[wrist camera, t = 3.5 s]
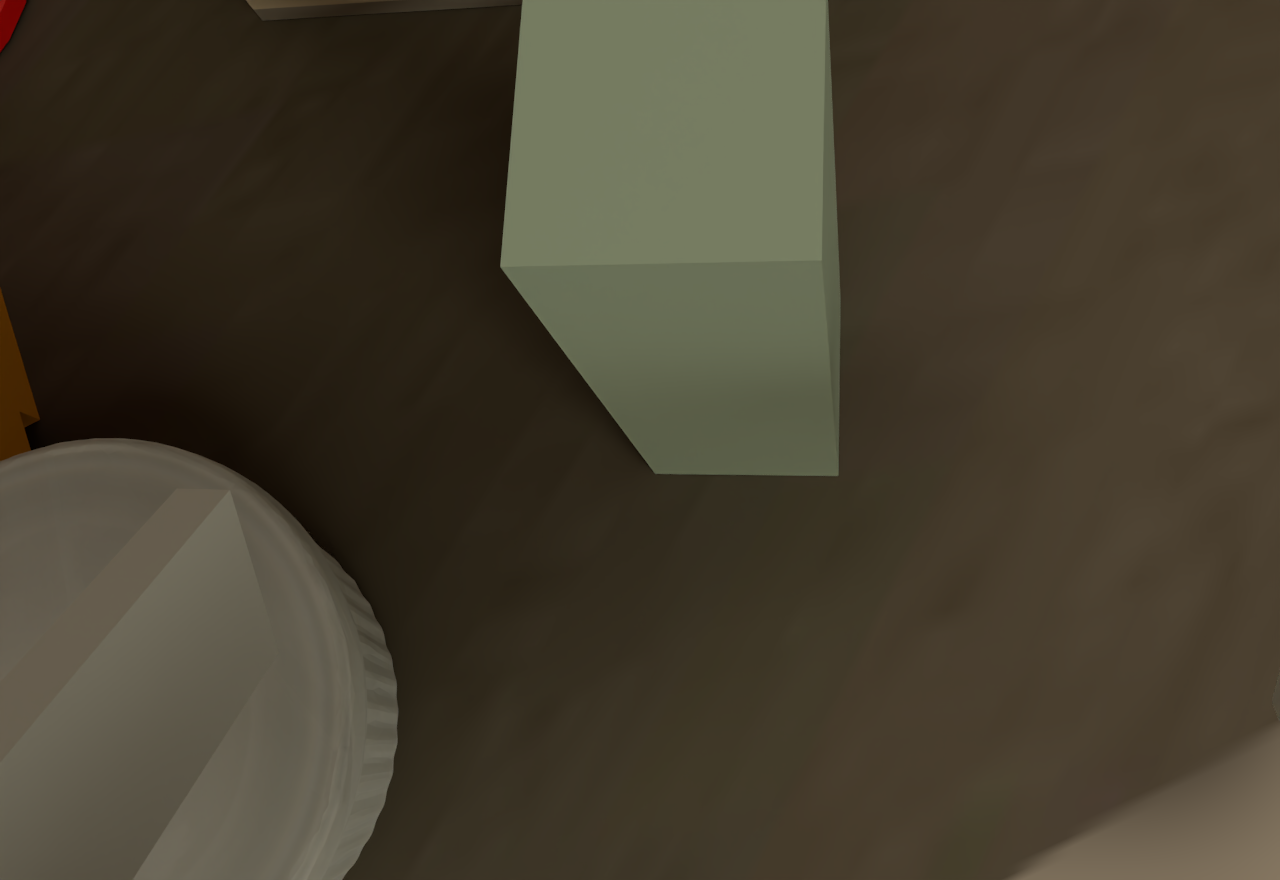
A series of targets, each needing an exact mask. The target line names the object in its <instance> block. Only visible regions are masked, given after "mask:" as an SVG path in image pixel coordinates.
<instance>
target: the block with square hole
mask: <svg viewBox="0 0 1280 880" xmlns="http://www.w3.org/2000/svg"><path fill="white" fill-rule="evenodd" d="M246 1H247V2H248V4H249V5H250V6H251V7H252V8H253V10H254V11H255V12H256V13H257V14H258V16H259V17H260V18H261V19H262V21H266V20H282V19H298V18H314V17H331V16H347V15H363V14H379V13H395V12H412V11H428V10H444V9H460V8H477V7H493V6H509V5H522V2H523V0H246Z"/></svg>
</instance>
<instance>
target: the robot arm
mask: <svg viewBox="0 0 1280 880" xmlns="http://www.w3.org/2000/svg"><path fill="white" fill-rule="evenodd" d="M278 653H279V651H278V647H277V644H276V641H275V637H274V634H273V631H272V627H271V624H270V621H269V617H268V614H267V611H266V608H265V604H264V601H263V598H262V594H261V591H260V588H259V584H258V581H257V578H256V574H255V571H254V568H253V564H252V561H251V558H250V555H249V551H248V548H247V545H246V541H245V538H244V535H243V531H242V528H241V525H240V521H239V518H238V515H237V511H236V508H235V505H234V501H233V498H232V495H231V492H230V490H218V489H176V490H175V491H174V492H173V493H172V494H171V496H170V497H169V498H168V499H167V500H166V501H165V502H164V503H163V504H162V505H161V506H160V508H159V509H158V510H157V511H156V512H155V513H154V514H153V515H152V516H151V517H150V519H149V520H148V521H147V522H146V523H145V524H144V525H143V526H142V527H141V528H140V530H139V531H138V532H137V533H136V534H135V535H134V536H133V537H132V538H131V539H130V540H129V542H128V543H127V544H126V545H125V546H124V547H123V548H122V549H121V550H120V551H119V553H118V554H117V555H116V556H115V557H114V558H113V559H112V560H111V561H110V562H109V563H108V565H107V566H106V567H105V568H104V569H103V570H102V571H101V572H100V573H99V574H98V576H97V577H96V578H95V579H94V580H93V581H92V582H91V583H90V584H89V585H88V587H87V588H86V589H85V590H84V591H83V592H82V593H81V594H80V595H79V596H78V597H77V599H76V600H75V601H74V602H73V603H72V604H71V605H70V606H69V607H68V608H67V610H66V611H65V612H64V613H63V614H62V615H61V616H60V617H59V618H58V619H57V620H56V622H55V623H54V624H53V625H52V626H51V627H50V628H49V629H48V630H47V631H46V633H45V634H44V635H43V636H42V637H41V638H40V639H39V640H38V641H37V642H36V644H35V645H34V646H33V647H32V648H31V649H30V650H29V651H28V652H27V653H26V654H25V656H24V657H23V658H22V659H21V660H20V661H19V662H18V663H17V664H16V665H15V667H14V668H13V669H12V670H11V671H10V672H9V673H8V674H7V675H6V676H5V677H4V679H3V680H2V681H1V682H0V880H133V878H134V877H135V875H136V874H137V872H138V871H139V869H140V868H141V866H142V864H143V863H144V861H145V860H146V858H147V857H148V855H149V854H150V852H151V850H152V849H153V847H154V846H155V844H156V843H157V841H158V840H159V838H160V836H161V835H162V833H163V832H164V830H165V829H166V827H167V826H168V824H169V822H170V821H171V819H172V818H173V816H174V815H175V813H176V812H177V810H178V808H179V807H180V805H181V804H182V802H183V801H184V799H185V798H186V796H187V794H188V793H189V791H190V790H191V788H192V787H193V785H194V784H195V782H196V780H197V779H198V777H199V776H200V774H201V773H202V771H203V770H204V768H205V766H206V765H207V763H208V762H209V760H210V759H211V757H212V755H213V754H214V752H215V751H216V749H217V748H218V746H219V745H220V743H221V741H222V740H223V738H224V737H225V735H226V734H227V732H228V731H229V729H230V727H231V726H232V724H233V723H234V721H235V720H236V718H237V717H238V715H239V713H240V712H241V710H242V709H243V707H244V706H245V704H246V703H247V701H248V699H249V698H250V696H251V695H252V693H253V692H254V690H255V689H256V687H257V685H258V684H259V682H260V681H261V679H262V678H263V676H264V675H265V673H266V671H267V670H268V668H269V667H270V665H271V664H272V662H273V661H274V659H275V657H276V656H277V654H278ZM1272 704H1273V707H1274V709H1275V712H1276V714H1277V717H1278V719H1279V722H1280V670H1279V674H1278V678H1277V683H1276V687H1275V691H1274V695H1273V699H1272Z"/></svg>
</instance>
